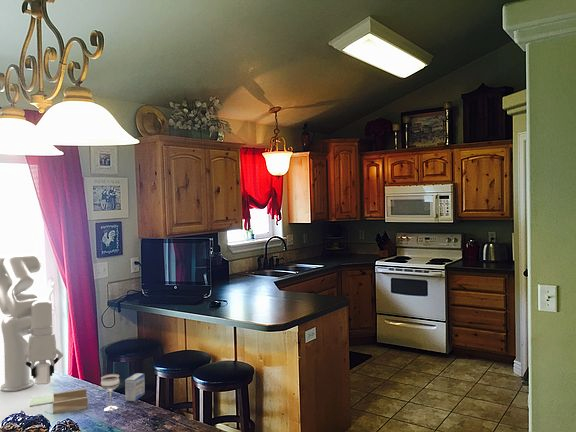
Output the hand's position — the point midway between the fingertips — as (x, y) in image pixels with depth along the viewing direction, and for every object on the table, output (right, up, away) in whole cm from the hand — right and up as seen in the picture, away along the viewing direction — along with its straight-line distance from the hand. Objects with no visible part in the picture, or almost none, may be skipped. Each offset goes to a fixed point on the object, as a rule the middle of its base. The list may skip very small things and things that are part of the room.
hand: (42, 375), depth 191 cm
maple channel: (+14, -10, -6) cm, 18 cm away
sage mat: (0, -10, 0) cm, 10 cm away
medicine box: (+37, -10, +2) cm, 38 cm away
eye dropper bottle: (0, -3, 0) cm, 3 cm away
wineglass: (+31, -10, -9) cm, 33 cm away
